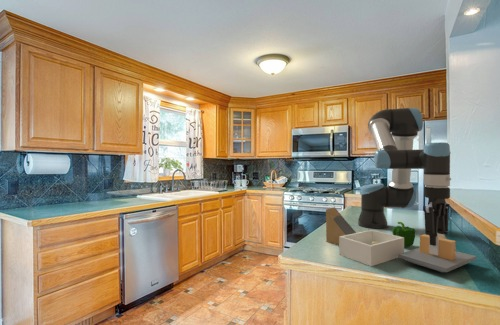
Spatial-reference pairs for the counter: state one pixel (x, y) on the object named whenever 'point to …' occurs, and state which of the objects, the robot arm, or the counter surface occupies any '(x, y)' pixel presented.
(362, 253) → the tub
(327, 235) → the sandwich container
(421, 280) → the counter surface
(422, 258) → the lid
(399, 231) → the bell pepper
